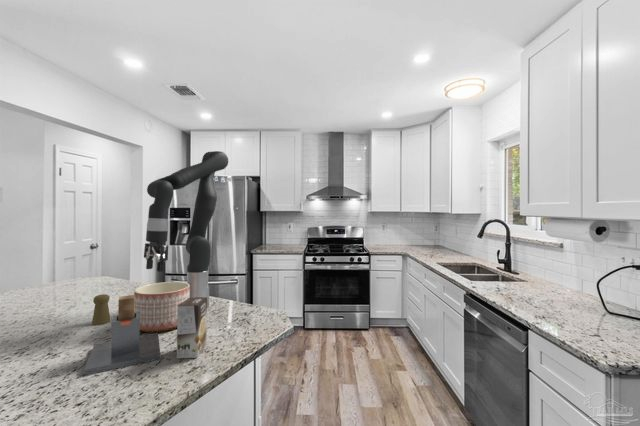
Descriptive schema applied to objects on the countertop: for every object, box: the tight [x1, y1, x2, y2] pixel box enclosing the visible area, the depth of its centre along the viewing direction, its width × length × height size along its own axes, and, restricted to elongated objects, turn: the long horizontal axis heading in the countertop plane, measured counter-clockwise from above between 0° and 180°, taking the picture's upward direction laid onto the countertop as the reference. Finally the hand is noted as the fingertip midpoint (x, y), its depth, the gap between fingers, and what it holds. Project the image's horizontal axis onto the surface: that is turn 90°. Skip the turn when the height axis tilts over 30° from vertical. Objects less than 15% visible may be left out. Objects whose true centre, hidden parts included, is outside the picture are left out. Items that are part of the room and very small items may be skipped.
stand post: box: [117, 294, 135, 320], centre depth 89 cm, size 4×4×16 cm
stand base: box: [83, 312, 161, 376], centre depth 89 cm, size 18×18×12 cm
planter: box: [133, 281, 190, 333], centre depth 113 cm, size 19×19×15 cm
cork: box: [91, 293, 112, 326], centre depth 115 cm, size 6×6×11 cm
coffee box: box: [176, 297, 208, 359], centre depth 91 cm, size 9×6×16 cm
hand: (154, 270), depth 115 cm, fingers open, 8 cm apart
